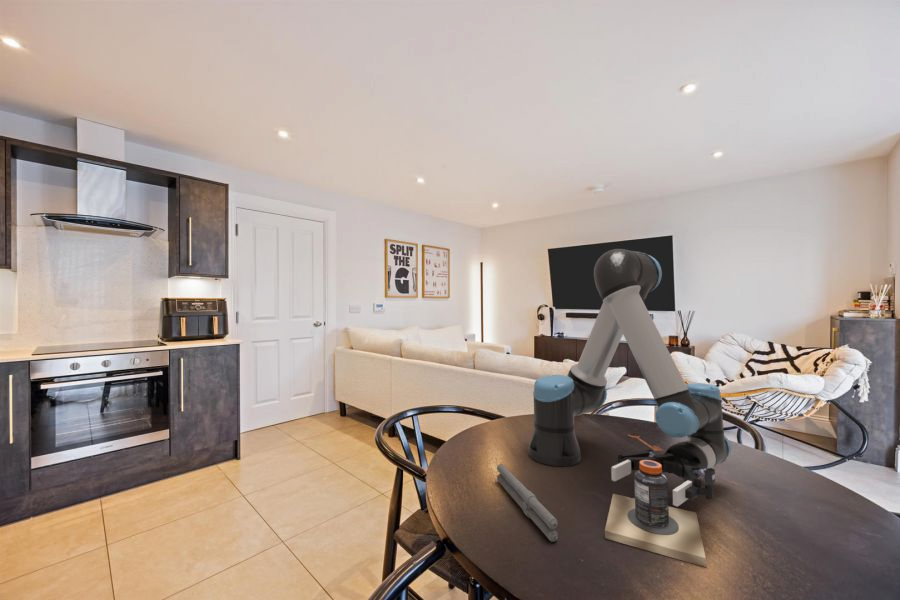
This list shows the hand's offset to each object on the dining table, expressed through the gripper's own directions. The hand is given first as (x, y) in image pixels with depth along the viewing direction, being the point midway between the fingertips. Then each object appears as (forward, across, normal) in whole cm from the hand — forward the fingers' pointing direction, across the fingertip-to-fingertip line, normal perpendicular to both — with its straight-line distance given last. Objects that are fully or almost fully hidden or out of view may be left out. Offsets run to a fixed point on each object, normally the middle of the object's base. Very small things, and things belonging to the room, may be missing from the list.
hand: (641, 485), depth 71 cm
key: (-51, +24, -10) cm, 57 cm away
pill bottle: (-4, 0, -8) cm, 9 cm away
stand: (-4, 0, -10) cm, 10 cm away
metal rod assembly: (+11, +21, -10) cm, 26 cm away
